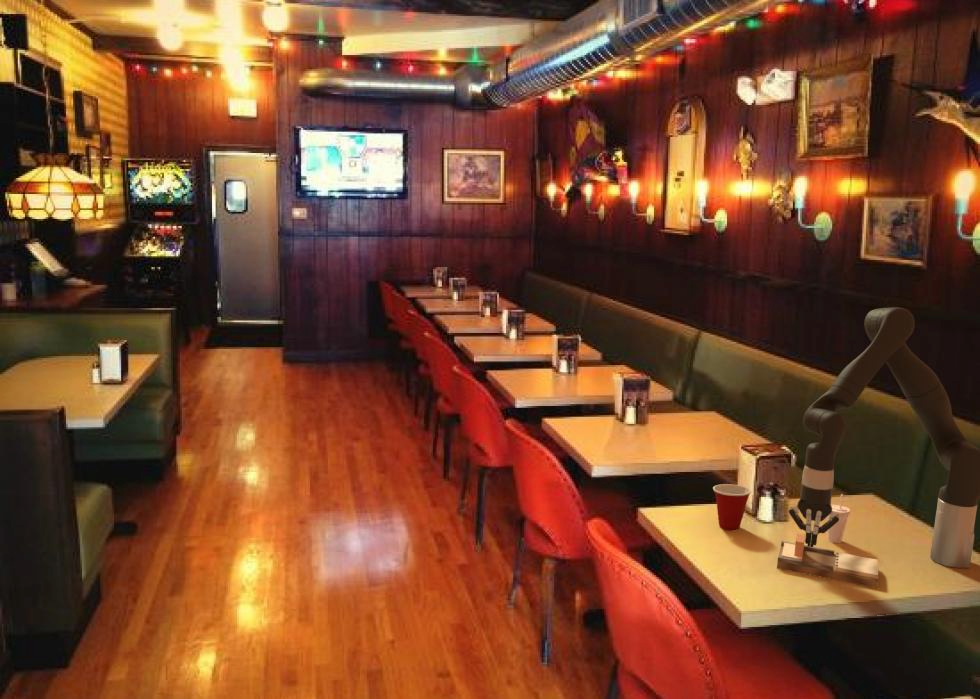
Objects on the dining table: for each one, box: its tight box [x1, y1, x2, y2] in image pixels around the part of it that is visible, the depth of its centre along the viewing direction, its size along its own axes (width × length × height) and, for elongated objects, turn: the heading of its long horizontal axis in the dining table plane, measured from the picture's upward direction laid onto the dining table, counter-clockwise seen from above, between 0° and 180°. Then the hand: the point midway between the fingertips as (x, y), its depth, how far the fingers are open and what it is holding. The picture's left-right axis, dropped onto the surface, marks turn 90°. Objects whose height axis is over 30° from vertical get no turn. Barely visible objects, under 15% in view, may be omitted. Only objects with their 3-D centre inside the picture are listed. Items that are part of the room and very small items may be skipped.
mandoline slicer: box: [776, 540, 879, 589], centre depth 218 cm, size 24×12×3 cm, turn 66°
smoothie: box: [826, 493, 851, 544], centre depth 235 cm, size 6×6×14 cm
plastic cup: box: [712, 483, 752, 531], centre depth 243 cm, size 11×11×12 cm
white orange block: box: [782, 532, 806, 561], centre depth 221 cm, size 5×9×5 cm, turn 156°
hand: (810, 545), depth 219 cm, fingers closed
